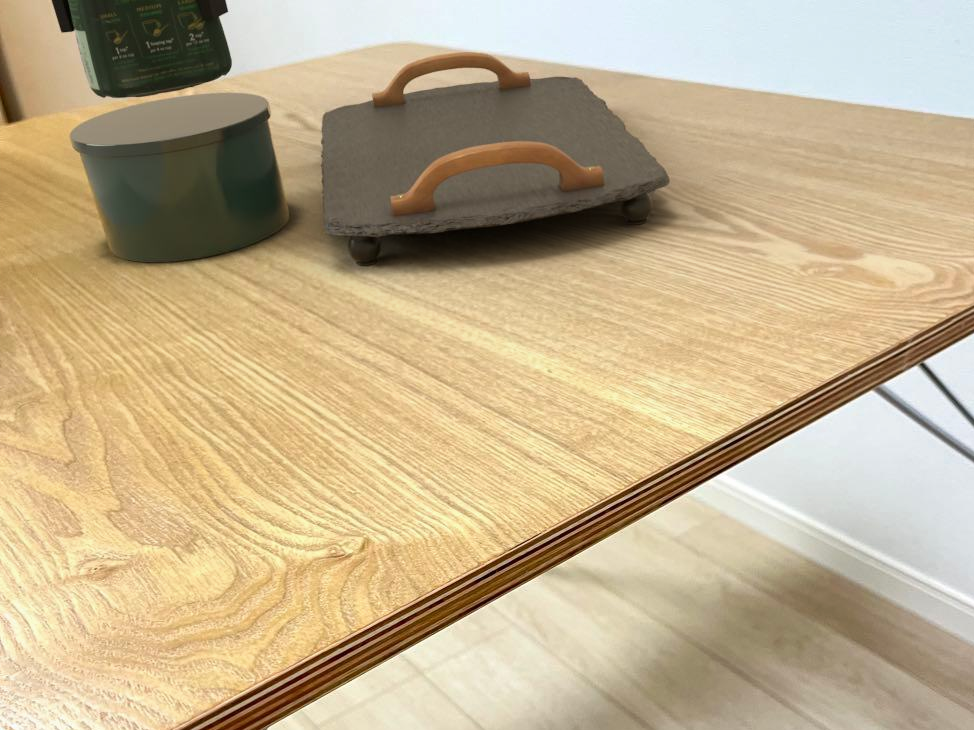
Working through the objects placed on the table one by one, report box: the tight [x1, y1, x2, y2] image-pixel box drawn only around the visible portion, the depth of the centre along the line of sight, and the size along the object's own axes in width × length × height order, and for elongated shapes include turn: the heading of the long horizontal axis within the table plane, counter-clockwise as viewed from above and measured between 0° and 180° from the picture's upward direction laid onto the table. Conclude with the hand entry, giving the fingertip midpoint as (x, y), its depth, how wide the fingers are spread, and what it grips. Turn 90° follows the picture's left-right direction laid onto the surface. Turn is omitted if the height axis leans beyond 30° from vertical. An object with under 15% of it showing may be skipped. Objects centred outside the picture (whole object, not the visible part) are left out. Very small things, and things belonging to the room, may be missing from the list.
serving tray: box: [320, 51, 670, 266], centre depth 86 cm, size 39×23×6 cm, turn 9°
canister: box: [69, 92, 290, 263], centre depth 81 cm, size 14×14×8 cm
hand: (145, 22), depth 76 cm, fingers closed on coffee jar, 9 cm apart
